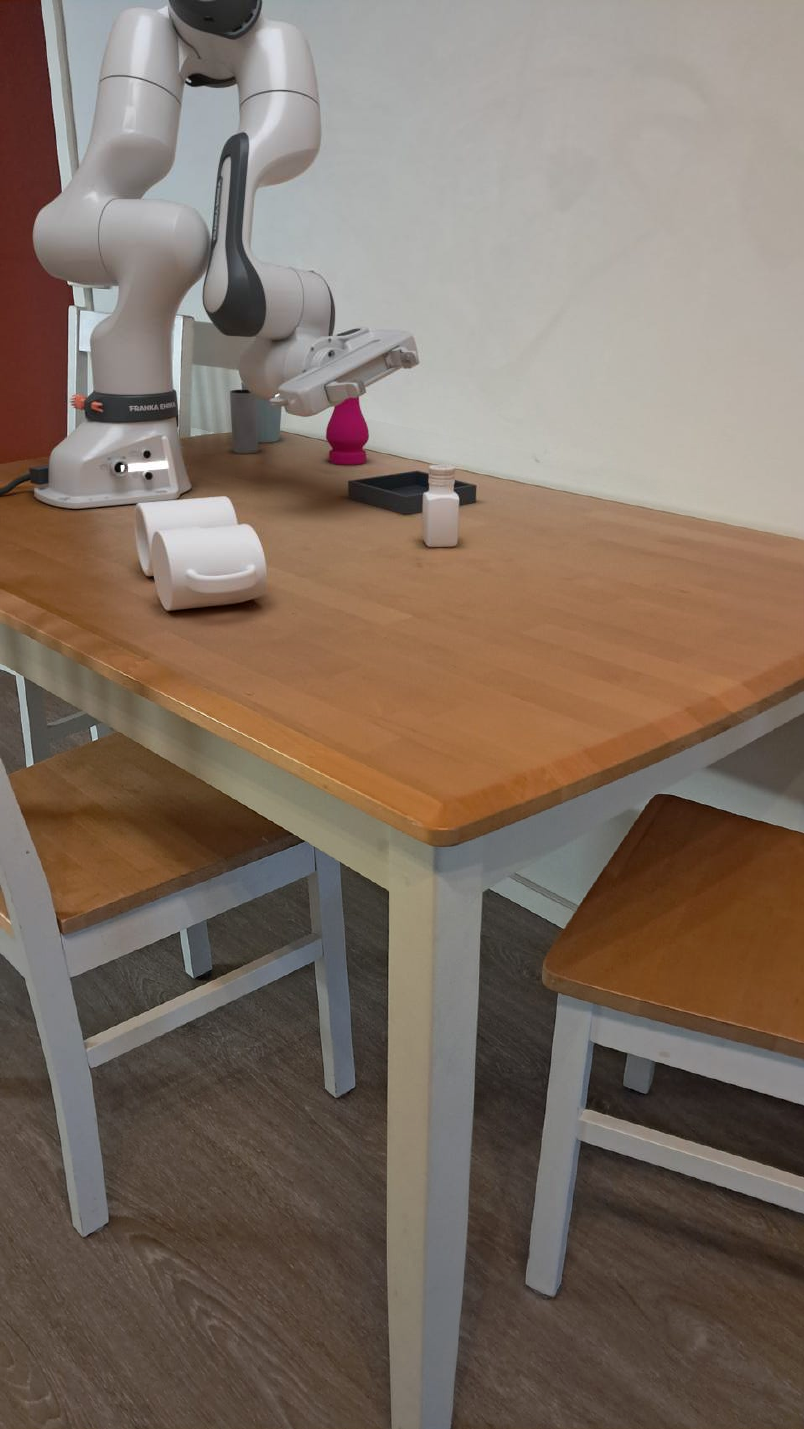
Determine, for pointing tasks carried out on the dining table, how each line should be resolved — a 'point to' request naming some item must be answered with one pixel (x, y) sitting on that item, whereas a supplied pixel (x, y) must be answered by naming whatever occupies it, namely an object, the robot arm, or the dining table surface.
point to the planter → (244, 421)
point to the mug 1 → (177, 520)
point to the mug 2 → (208, 566)
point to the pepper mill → (347, 434)
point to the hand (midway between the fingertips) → (388, 374)
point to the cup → (267, 420)
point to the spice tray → (402, 491)
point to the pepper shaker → (440, 508)
